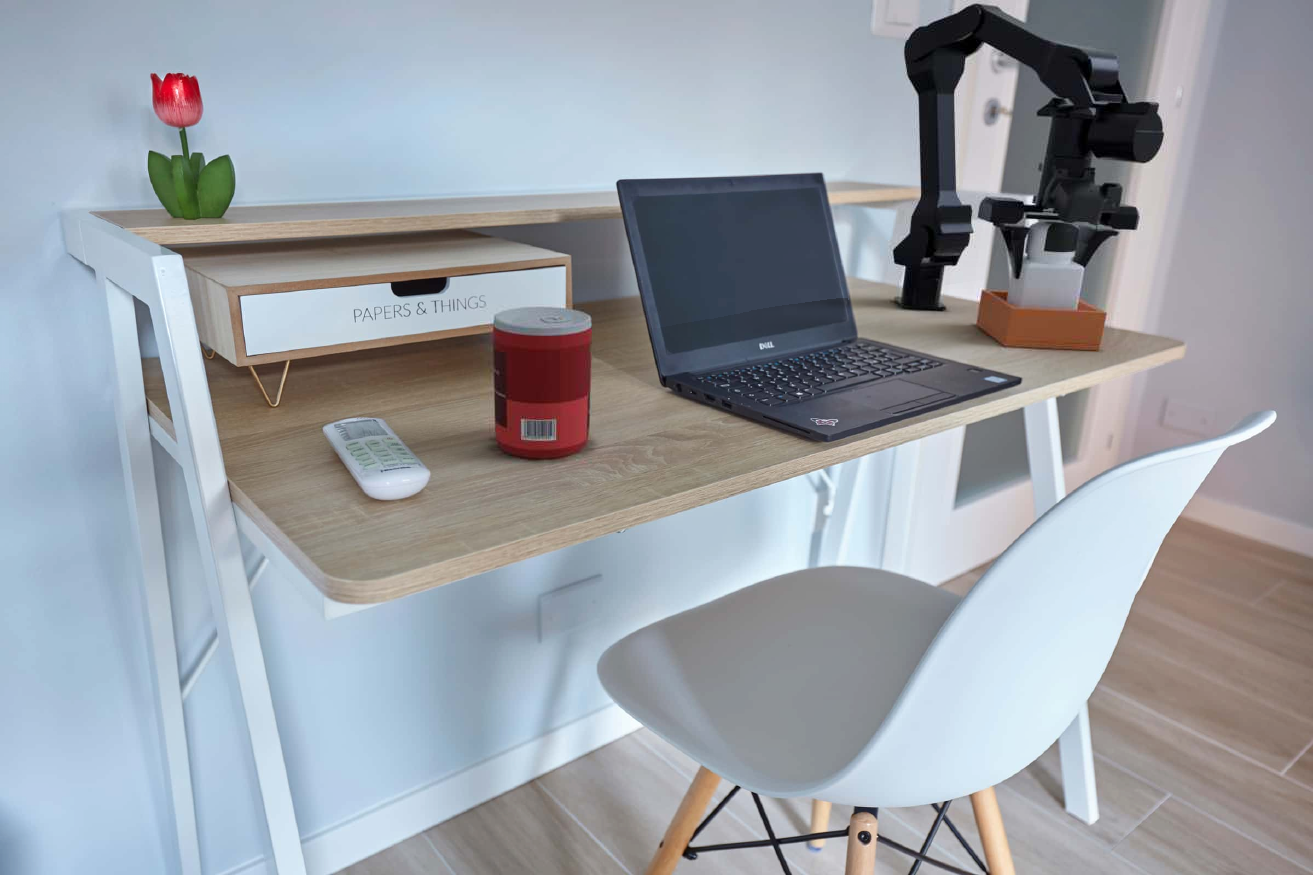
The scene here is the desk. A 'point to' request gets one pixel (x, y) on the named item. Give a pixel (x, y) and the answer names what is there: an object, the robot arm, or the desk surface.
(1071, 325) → the bin
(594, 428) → the desk surface
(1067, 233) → the medicine bottle
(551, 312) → the canned food
